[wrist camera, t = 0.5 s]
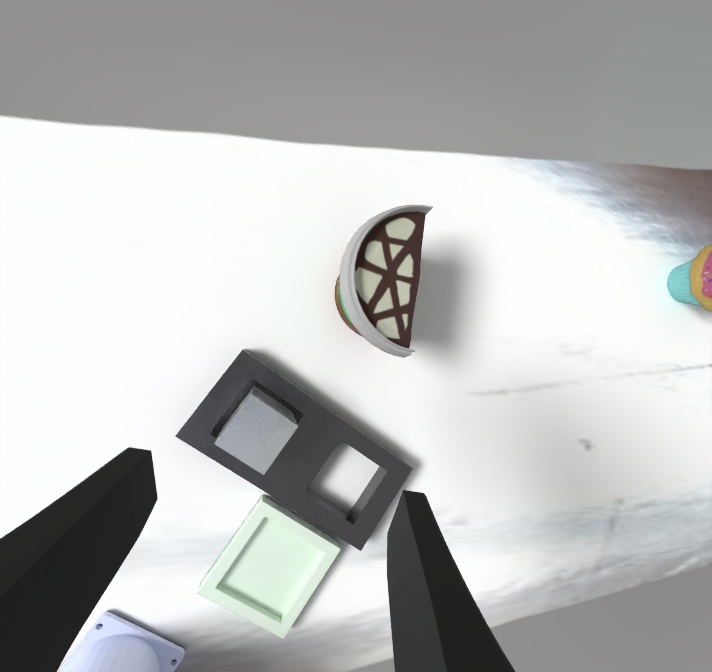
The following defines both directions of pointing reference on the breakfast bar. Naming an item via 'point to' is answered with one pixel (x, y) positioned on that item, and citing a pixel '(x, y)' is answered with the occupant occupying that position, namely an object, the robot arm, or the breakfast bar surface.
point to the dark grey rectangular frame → (300, 452)
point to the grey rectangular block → (257, 430)
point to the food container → (383, 278)
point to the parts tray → (270, 567)
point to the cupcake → (693, 280)
